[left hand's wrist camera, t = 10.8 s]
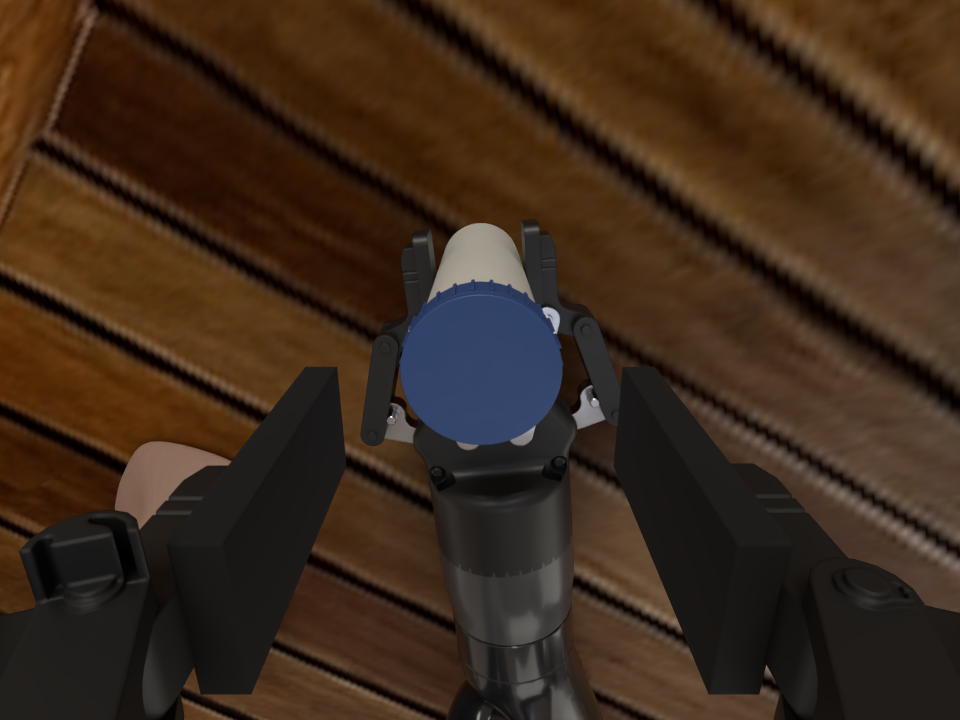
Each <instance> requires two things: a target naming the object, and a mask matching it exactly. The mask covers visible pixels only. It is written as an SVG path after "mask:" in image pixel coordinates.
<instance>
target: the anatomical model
mask: <svg viewBox="0 0 960 720" xmlns="http://www.w3.org/2000/svg"><path fill="white" fill-rule="evenodd" d="M230 463H231V461H230V460H228V459H225V458H223V457H220V456H218V455H215V454H213V453H210V452H206V451H203V450H200V449H197V448H193V447H189V446H185V445H181V444H176V443H170V442H162V441H157V442H149V443H146V444H143V445H142V446H140V447H139V448H138V449H137V450H136V451H135V452H134V454H133V456H132V457H131V459H130V460H129V462H128V465H127V467H126V469H125V472H124V474H123V476H122V479H121V481H120V484H119V488H118V492H117V498H116V503H115V510H117V511H123V512H128V513H129V514H131V515H132V516H133V517H135V518H136V519H137V522H138V526H139V530H140V529H141V528H142V526H143V525H144V524H145V523H146V522H147V521H148V520H149V518H150V517H151V516H152V515H156V511H157V509H158V508H159V507H160V506H161V505H162V504H163V503H164V502H165V500H168V499H169V498H168V497H169V496H170V495H171V494H172V492H173V491H174V490H175V489H176V488H177V487H178V486H179V485H180V483H181V482H182V481H183V480H184V479H186V478H188V477H189V476H191V475H192V474H194V473H196V472H197V471H199V470H201V469H202V468H204V467H205V466H207V465H229V464H230Z"/></svg>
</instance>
